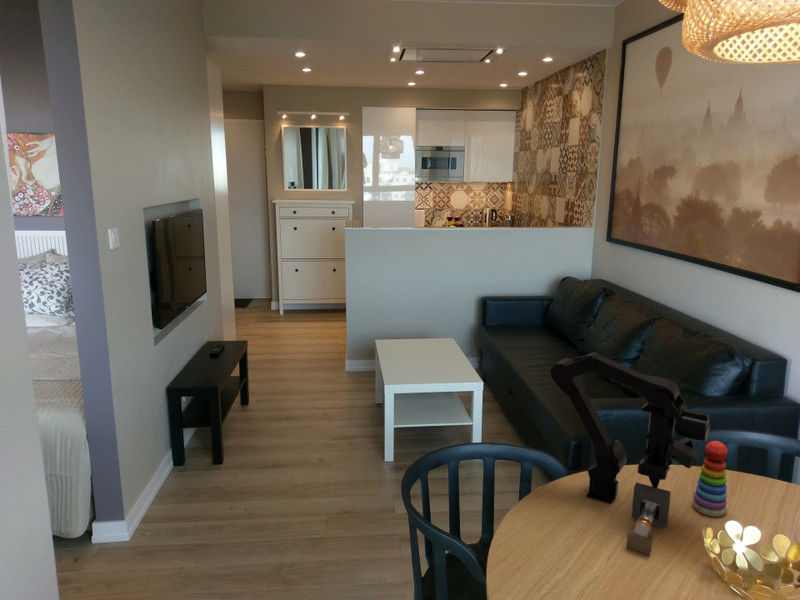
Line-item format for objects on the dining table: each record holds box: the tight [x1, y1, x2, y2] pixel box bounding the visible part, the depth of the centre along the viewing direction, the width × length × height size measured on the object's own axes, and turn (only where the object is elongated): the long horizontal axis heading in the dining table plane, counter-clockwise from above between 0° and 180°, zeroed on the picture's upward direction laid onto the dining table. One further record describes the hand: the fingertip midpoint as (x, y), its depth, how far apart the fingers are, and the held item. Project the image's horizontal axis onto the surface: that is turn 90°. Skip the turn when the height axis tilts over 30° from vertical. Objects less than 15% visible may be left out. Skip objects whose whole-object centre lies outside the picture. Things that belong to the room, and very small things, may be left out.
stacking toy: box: [691, 440, 729, 517], centre depth 144 cm, size 8×8×19 cm
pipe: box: [625, 499, 660, 557], centre depth 137 cm, size 18×5×6 cm, turn 147°
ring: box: [631, 481, 672, 528], centre depth 140 cm, size 2×8×8 cm, turn 57°
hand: (655, 487), depth 144 cm, fingers closed
